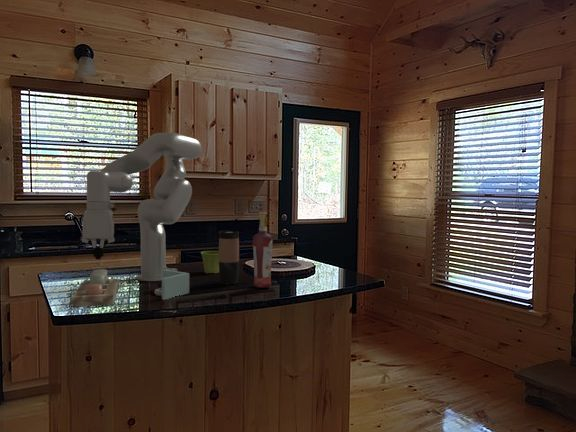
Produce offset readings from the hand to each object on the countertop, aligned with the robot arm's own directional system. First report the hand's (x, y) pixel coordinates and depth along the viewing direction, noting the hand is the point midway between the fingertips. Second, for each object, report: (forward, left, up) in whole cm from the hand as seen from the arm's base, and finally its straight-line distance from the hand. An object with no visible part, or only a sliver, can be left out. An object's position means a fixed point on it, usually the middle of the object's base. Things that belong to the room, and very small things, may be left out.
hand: (98, 258), depth 171 cm
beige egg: (0, 0, -9) cm, 9 cm away
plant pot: (-42, -26, -12) cm, 51 cm away
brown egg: (0, +16, -11) cm, 19 cm away
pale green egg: (0, +8, -9) cm, 12 cm away
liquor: (-57, +7, -12) cm, 59 cm away
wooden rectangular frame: (0, +8, -12) cm, 14 cm away
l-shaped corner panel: (-22, +9, -12) cm, 27 cm away
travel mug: (-46, -3, -12) cm, 48 cm away
